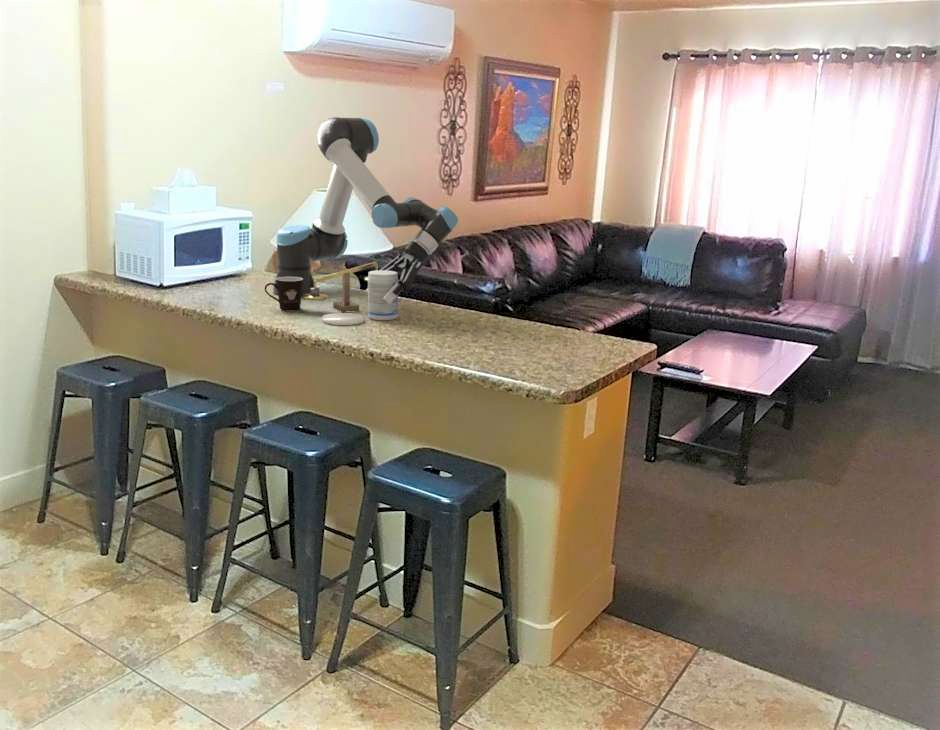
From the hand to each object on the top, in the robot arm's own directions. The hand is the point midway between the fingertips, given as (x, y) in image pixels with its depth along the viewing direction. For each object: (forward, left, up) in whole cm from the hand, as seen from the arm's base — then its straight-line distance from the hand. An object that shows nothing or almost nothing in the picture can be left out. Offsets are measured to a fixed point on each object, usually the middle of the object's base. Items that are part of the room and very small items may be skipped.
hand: (377, 297), depth 282 cm
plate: (0, -11, -7) cm, 13 cm away
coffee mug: (-24, -22, -7) cm, 33 cm away
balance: (-16, -4, -7) cm, 18 cm away
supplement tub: (0, +2, -7) cm, 7 cm away
